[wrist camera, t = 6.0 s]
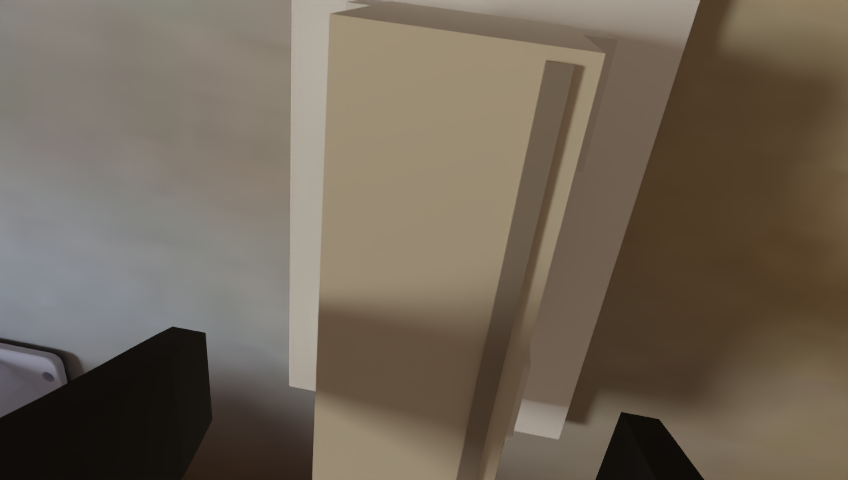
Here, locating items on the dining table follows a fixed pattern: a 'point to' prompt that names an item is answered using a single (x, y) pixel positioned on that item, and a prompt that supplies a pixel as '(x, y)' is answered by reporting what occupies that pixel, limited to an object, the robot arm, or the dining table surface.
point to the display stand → (587, 202)
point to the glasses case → (438, 230)
